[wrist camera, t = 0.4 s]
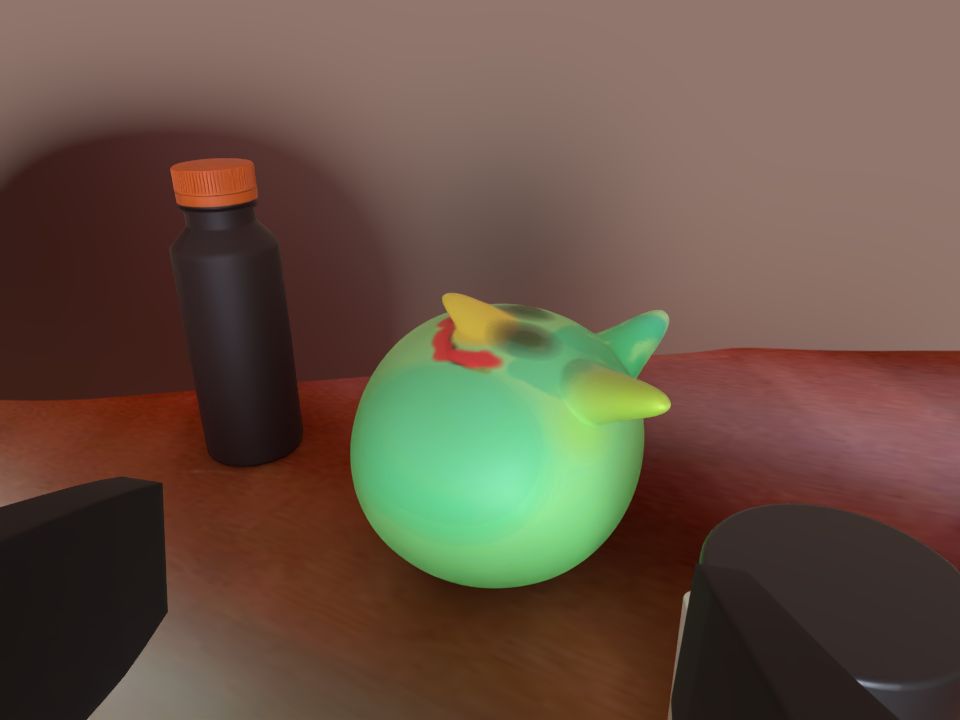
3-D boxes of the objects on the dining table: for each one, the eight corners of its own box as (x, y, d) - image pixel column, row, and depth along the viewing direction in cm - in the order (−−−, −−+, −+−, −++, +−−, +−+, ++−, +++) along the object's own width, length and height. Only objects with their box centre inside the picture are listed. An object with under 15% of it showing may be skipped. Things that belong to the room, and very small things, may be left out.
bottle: (284, 412, 58) (248, 152, 50) (318, 449, 53) (284, 165, 45) (196, 438, 55) (142, 162, 46) (223, 479, 49) (168, 178, 41)
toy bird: (412, 447, 53) (402, 248, 47) (652, 470, 50) (673, 261, 44) (313, 629, 37) (277, 364, 31) (657, 681, 34) (691, 397, 28)
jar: (644, 725, 32) (671, 492, 27) (836, 728, 32) (898, 494, 27) (694, 967, 24) (745, 696, 19) (953, 973, 23) (1074, 700, 18)
